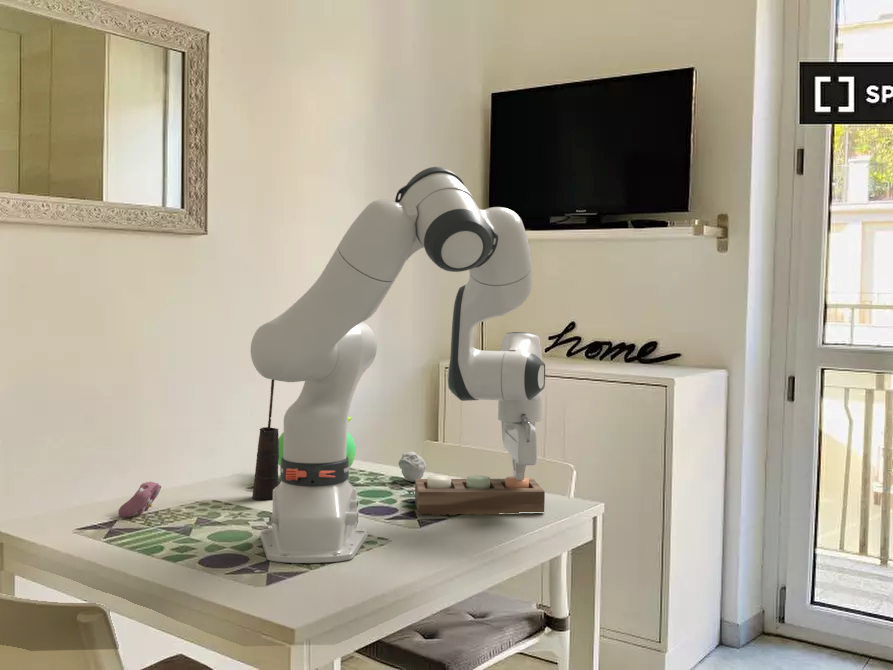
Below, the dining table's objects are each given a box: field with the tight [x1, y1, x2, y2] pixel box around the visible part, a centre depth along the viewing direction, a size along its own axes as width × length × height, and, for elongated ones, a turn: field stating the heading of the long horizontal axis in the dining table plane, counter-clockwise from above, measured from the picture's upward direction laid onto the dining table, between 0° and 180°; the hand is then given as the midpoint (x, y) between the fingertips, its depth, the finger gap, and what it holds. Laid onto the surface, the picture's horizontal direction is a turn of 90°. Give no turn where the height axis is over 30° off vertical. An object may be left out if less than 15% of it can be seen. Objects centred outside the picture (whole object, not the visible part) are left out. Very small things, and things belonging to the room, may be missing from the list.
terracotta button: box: [504, 476, 530, 488], centre depth 184 cm, size 5×5×2 cm
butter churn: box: [252, 379, 280, 501], centre depth 186 cm, size 9×10×28 cm
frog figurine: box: [398, 451, 427, 483], centre depth 206 cm, size 6×7×7 cm
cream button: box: [426, 475, 452, 489], centre depth 182 cm, size 5×5×2 cm
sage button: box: [466, 474, 491, 489], centre depth 183 cm, size 5×5×2 cm
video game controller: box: [117, 480, 162, 518], centre depth 175 cm, size 10×5×7 cm, turn 1°
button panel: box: [414, 478, 546, 516], centre depth 183 cm, size 12×25×4 cm, turn 96°
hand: (518, 479), depth 183 cm, fingers closed, pressing on terracotta button
